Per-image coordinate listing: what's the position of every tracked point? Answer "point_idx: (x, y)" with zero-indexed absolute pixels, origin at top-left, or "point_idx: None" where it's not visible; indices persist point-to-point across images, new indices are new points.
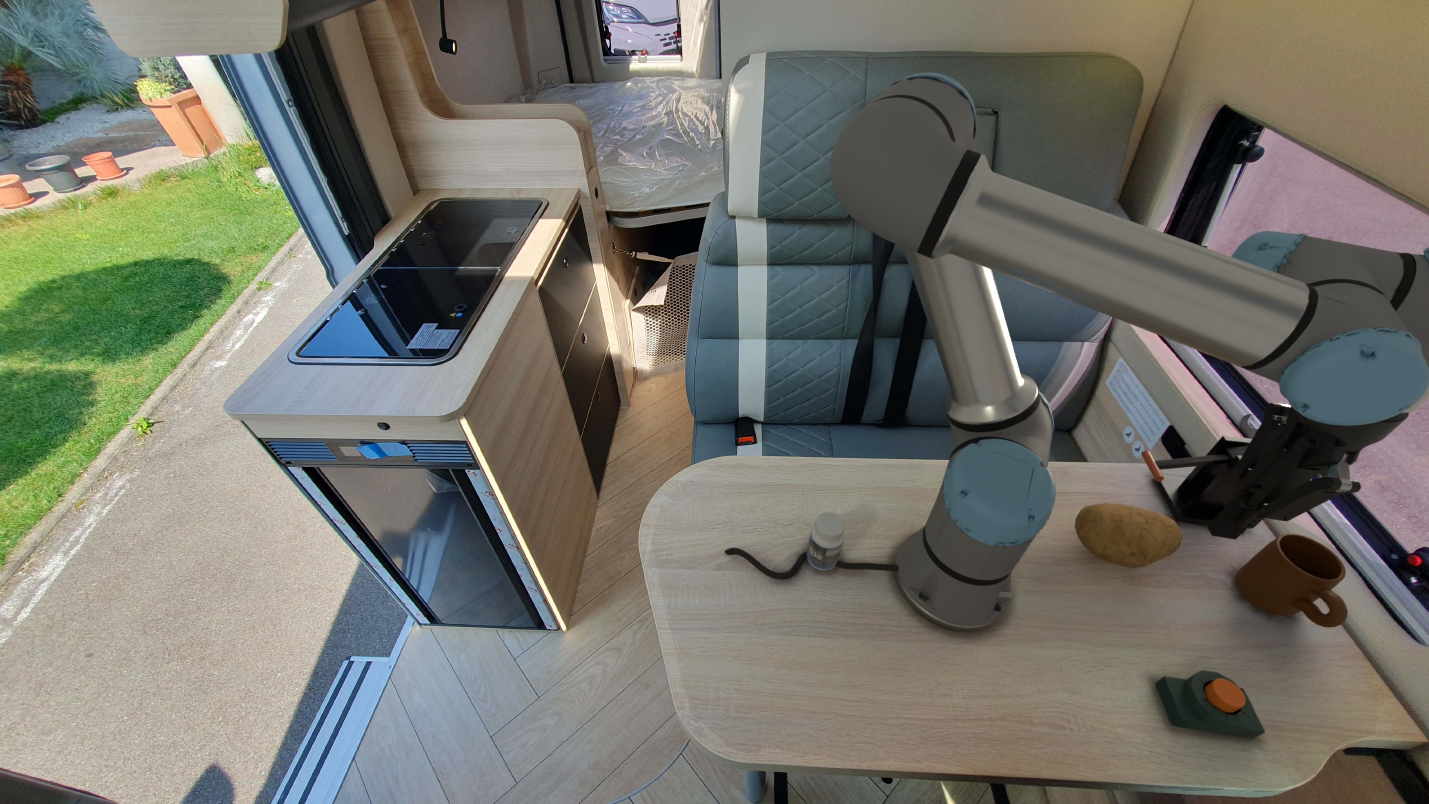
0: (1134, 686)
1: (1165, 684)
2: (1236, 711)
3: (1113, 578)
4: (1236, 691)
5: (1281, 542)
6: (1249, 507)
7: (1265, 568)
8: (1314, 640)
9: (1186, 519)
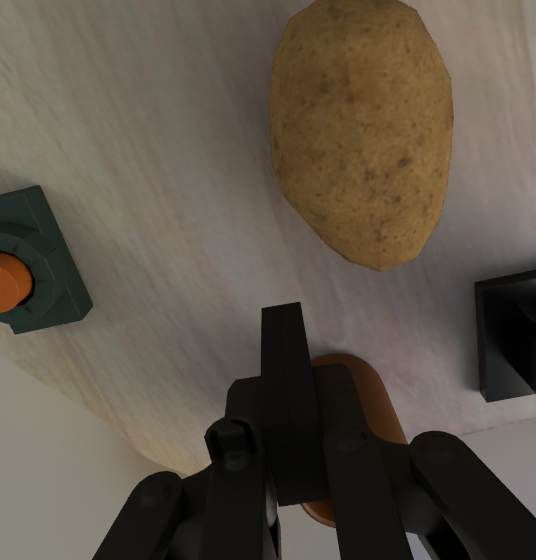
0: (10, 146)
1: (11, 194)
2: None
3: (264, 131)
4: (2, 301)
5: None
6: (208, 446)
7: None
8: None
9: (480, 300)
